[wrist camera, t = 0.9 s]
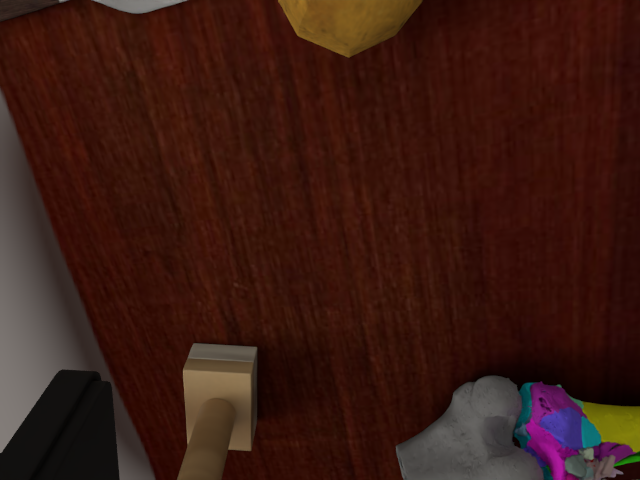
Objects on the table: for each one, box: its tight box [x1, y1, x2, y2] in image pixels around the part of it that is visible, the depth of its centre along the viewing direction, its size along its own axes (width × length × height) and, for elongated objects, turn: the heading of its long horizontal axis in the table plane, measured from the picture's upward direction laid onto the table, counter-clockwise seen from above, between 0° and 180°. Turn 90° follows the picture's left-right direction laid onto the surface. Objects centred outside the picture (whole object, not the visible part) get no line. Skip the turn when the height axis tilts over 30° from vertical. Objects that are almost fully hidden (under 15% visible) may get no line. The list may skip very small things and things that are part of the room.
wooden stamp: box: [177, 343, 257, 480], centre depth 31 cm, size 6×4×11 cm, turn 177°
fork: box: [0, 0, 187, 21], centre depth 26 cm, size 3×16×2 cm, turn 99°
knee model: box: [396, 375, 640, 480], centre depth 34 cm, size 9×8×25 cm
